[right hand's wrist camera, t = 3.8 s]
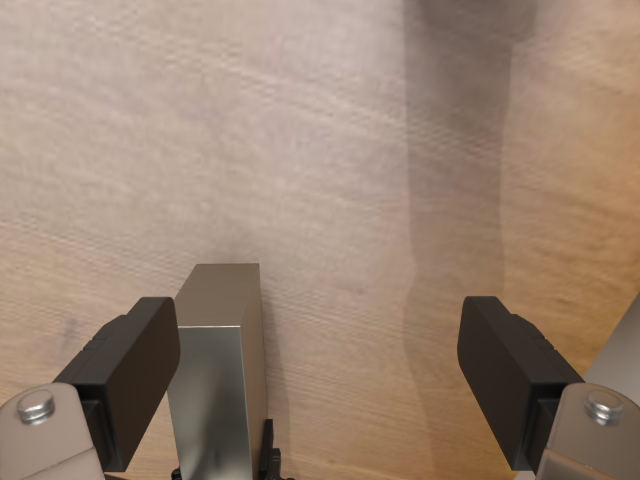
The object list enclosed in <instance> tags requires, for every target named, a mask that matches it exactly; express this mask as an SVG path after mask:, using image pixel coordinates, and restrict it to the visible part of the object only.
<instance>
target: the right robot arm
mask: <svg viewBox="0 0 640 480" xmlns="http://www.w3.org/2000/svg"><path fill="white" fill-rule="evenodd" d="M180 353H181V347H180V339H179V332H178V324H177V317H176V310H175V304H174V301H173V299H172V298H171V297H142V298H141V299H140V300H139V301H138V302H137V303H136V304H135V305H134V307H133V308H132V309H131V310H130V311H129V312H128V314H127V315H120V316H118V317H117V318H115V319H114V320H112V321H110V322H109V323H107V324H105V325H104V326H103V327H102V328H101V329H100V330H99V331H98V332H97V333H96V335H95V336H94V337H93V339H92V340H90V341H89V342H88V343H87V344H86V345H85V347H84V348H83V351H80V352H79V353H78V354H77V355H76V356H75V358H74V359H73V360H72V361H71V362H70V363H69V364H68V365H67V366H66V367H65V369H64V370H63V371H62V372H61V373H60V374H59V375H58V376H57V377H56V378H55V380H54V381H53V382H52V383H48V384H43V385H39V386H36V387H33V388H30V389H28V390H25V391H23V392H21V393H19V394H17V395H16V396H14V397H12V398H11V399H9V400H8V401H7V402H6V403H4V404H3V405H2V406H1V407H0V480H105V478H104V475H103V473H104V472H125V471H126V469H127V467H128V465H129V463H130V461H131V459H132V457H133V455H134V453H135V451H136V449H137V447H138V445H139V443H140V441H141V439H142V437H143V435H144V433H145V431H146V429H147V427H148V426H149V424H150V422H151V420H152V418H153V416H154V414H155V412H156V410H157V408H158V406H159V404H160V402H161V400H162V398H163V396H164V394H165V392H166V390H167V388H168V386H169V384H170V382H171V380H172V378H173V376H174V374H175V372H176V370H177V368H178V365H179V361H180ZM457 354H458V361H459V365H460V368H461V370H462V372H463V374H464V376H465V378H466V380H467V382H468V384H469V386H470V388H471V390H472V392H473V394H474V396H475V398H476V400H477V402H478V404H479V406H480V408H481V410H482V412H483V414H484V416H485V418H486V420H487V422H488V424H489V426H490V428H491V430H492V432H493V434H494V436H495V438H496V440H497V442H498V444H499V446H500V448H501V450H502V452H503V454H504V456H505V458H506V460H507V462H508V464H509V466H510V468H511V470H512V471H533V472H534V474H535V476H536V478H535V480H640V407H639V406H638V405H637V404H636V403H634V402H633V401H632V400H630V399H629V398H628V397H626V396H624V395H623V394H621V393H619V392H617V391H615V390H612V389H610V388H607V387H604V386H601V385H597V384H592V383H586V382H585V381H584V380H583V379H582V378H581V377H580V376H579V374H578V373H577V372H576V371H575V370H574V369H573V368H572V367H571V366H570V364H569V363H568V362H567V361H566V360H565V359H564V358H563V357H562V356H561V354H560V353H559V352H558V351H557V350H554V347H553V346H552V345H551V343H550V342H549V341H548V340H547V339H545V337H544V336H543V335H542V333H541V332H540V331H539V330H538V329H537V328H536V327H535V326H534V325H533V324H532V323H530V322H528V321H527V320H525V319H524V318H522V317H520V316H519V315H517V314H510V312H509V311H508V310H507V309H506V308H505V306H504V305H503V304H502V303H501V302H500V301H499V299H498V298H497V297H495V296H467V297H466V298H465V300H464V302H463V308H462V315H461V323H460V330H459V337H458V345H457Z"/></svg>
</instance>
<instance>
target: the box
mask: <svg viewBox="0 0 640 480" xmlns="http://www.w3.org/2000/svg"><path fill="white" fill-rule="evenodd" d="M173 301H174V304H175V310H176V317H177V324H178V332H179V339H180V347H181V353H180V361H179V365H178V368H177V370H176V372H175V374H174V376H173V378H172V380H171V382H170V384H169V386H168V388H167V394H168V400H169V406H170V412H171V418H172V424H173V430H174V436H175V442H176V448H177V454H178V460H179V466H180V472H181V478H182V480H259V466H260V458H261V451H262V444H263V437H264V429H265V422H266V419H268V408H267V391H266V374H265V357H264V340H263V323H262V306H261V289H260V272H259V264H196V266H195V267H194V269H193V271H192V272H191V274H190V275H189V277H188V278H187V280H186V282H185V283H184V285H183V286H182V288H181V289H180V291H179V293H178V294H177V296H176V297H175V299H174V300H173Z"/></svg>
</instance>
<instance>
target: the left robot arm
mask: <svg viewBox="0 0 640 480" xmlns="http://www.w3.org/2000/svg"><path fill="white" fill-rule="evenodd" d="M273 438H274V437H273V419H266V422H265V429H264V437H263V444H262V451H261V458H260V466H259V480H285V479H282V478H281V477H280V469H281V452H280V450H279V448H272V447H273ZM171 478H172V480H182V478H181V472H180V466H179V468H177V469H175V470H174V471H173V472H172V474H171ZM286 480H295V479H293V478H288V479H286Z"/></svg>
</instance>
